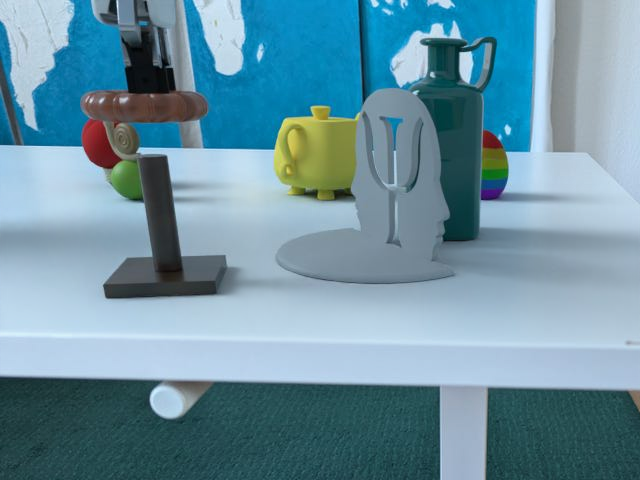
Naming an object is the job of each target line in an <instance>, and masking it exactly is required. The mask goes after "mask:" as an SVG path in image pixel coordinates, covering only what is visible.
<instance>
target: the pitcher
mask: <svg viewBox="0 0 640 480" xmlns="http://www.w3.org/2000/svg"><path fill="white" fill-rule="evenodd" d="M419 44H420V45H421V46H424V47H427V71H426V74H425V76H424V78H423V79H421V80H419V81H415V82H414V83H412V84H410V85H409V86H408V87H407V88H406V91H409V92H411V93H413V94H414V95H416V96H417V97H418V98H419V99H420V100H421V101H422V102H423V103H424V105H425V106H426V108H427V110H428V112H429V114H430V116H431V118H432V121H433V123H434V126H435V129H436V133H437V138H438V143H439V149H440V158H441V174H440V184H441V188H442V192H443V195H444V198H445V201H446V204H447V206H448V209H449V212H450V217H449V219H447V220H445V221H444V222H443V225H444V229H445V233H444V234H443V235H442V237H443V241H469V240H474V239H476V238H477V237H478V236H479V235H480V232H481V200H482V199H481V172H482V139H483V130H484V105H485V104H484V103H485V102H484V96H483V92H484V91H485V90H486V89H487V87H488V85H489V83H490V81H491V79H492V76H493V73H494V66H495V61H496V54H497V47H498V40H497V38H495V36H484V37H479V38H476V39H474V41H473V42H472V43H471V44H470V45H469V41H467V40H466V39H463V38H456V37H423V38H420V40H419ZM483 44H485V47H484V55H483V64H482V69H481V73H480V76H479V79H478V80H477V81H476V83H475V84H471V83H469V82H467V81H466V80H464V78H463V77H462V75H461V54H462V53H470V52H474V51H476V50H477V49H479V48H480V47H481V46H482V45H483ZM423 124H424V123H422V125H421V129H420V133H419V141H418V167H417V173H416V177H415V180H414V181H413V183H412V184H411V185H410V186H407V187H405V194H407V193H408V192H410V191H411V190H412V189H413V188H414V186H415V184H416V182H417V179H418V174H419V167H420V144H421V130H422V126H423Z"/></svg>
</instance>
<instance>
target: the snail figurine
mask: <svg viewBox="0 0 640 480" xmlns="http://www.w3.org/2000/svg"><path fill="white" fill-rule="evenodd" d="M103 124H104V126H105V128H106V133H107V136H108V139H109V142H110V145H111V147H112V149H113V151H114V152H115V154H116V155H118V156H119V157H120V158H122V159H123V160H124V161H121V162H119V163H118V164H116V165H115V167H114V168H113V170H112V172H111V182H112V184H111V186H112V187H113V189H114V190H115V191H116V192H117V194H119V195H120V196H121V197H124V198H126V199H129V200H140V199H144V198H143V192H142V185H141V179H140V172H139V166H138V160H137V156H138V155H143V154H142V152H138V150H139V149H140V145H141V141H140V135H139V132H138V131H137V129H136V128H135V126H133V125H132V123H120V124H118V125H117V126H116V128H115V129H114V122H103Z"/></svg>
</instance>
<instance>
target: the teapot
mask: <svg viewBox="0 0 640 480" xmlns="http://www.w3.org/2000/svg"><path fill="white" fill-rule="evenodd" d="M310 111H311V114H312V116H298V117H297V116H295V117H294V116H293V117H285V118H284V119H283V121H282V123H281V126H280V129H279V131H278V133H277V138H276V142H275V146H274V151H273V152H274V153H273V171H274V174H275V176H276V177H277V179H278V180H279V181H280V183H281V184H283V185H286V186H289V187H290V186H291V187H290V189H289V191H288V192H287V195H290V196H301V195H305V193H306V190H307V189H311V190H317V197H316V199H317V200H321V201H331V200H335V193H334V190H344V192H345V194H346V195H353V194H352V192H351V185H352V182H353V179H354V176H355V172H356V166H357V160H356V151H355V145H356V131H357V124H358V119H359V115H360V112H361V111H359V112H358V113H357V114H356V116H355V118H347V117H335V116H330V113H331V107H330V106H328V105H312V106H310Z"/></svg>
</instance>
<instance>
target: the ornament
mask: <svg viewBox="0 0 640 480" xmlns="http://www.w3.org/2000/svg"><path fill="white" fill-rule="evenodd" d="M359 112H360V115H359V119H358V124H357V131H356V145H355V151H356V160H357V166H356V172H355V176H354V179H353V182H352V185H351V192H352V194H351V195H353V196H354V197H355V202H354V207H355V210H356V216H357V219H358V222H359V225H360V230H358V229H357V228H354V227H347V228H338V229H328V230H322V231H317V232H311V233H308V234H304V235H301V236H298V237H295V238H293V239H290V240H288V241H287V242H284V243H283V244H281V246H279V248H278V249H277V250H276V253H275V259H276V262H277V264H279V265H280V266H281V267H282V268H284V269H286V270H288V271H289V272H292V273H295V274H298V275H302V276H304V277H305V276H306V277H309V278H315V279H320V280H327V281H335V282H343V283H344V282H345V283H359V284H398V283H412V282H413V283H414V282H422V281H430V280H431V281H432V280H436V279H437V280H438V279H443V278H446V277H451V276H454V275H456V273H455V270H454V268H453V267H452V266H449V265H447V264H444V263H442V262H439V261H438V259H439V256H440V255H439V252H440V247H441V245H442V244H443V242H444V240H443V237H442V235H443V234H444V233H445V229H444V225H443V222H444V221H445V220H447V219H449V217H450V212H449V209H448V206H447V204H446V201H445V198H444V195H443V192H442V188H441V184H440V174H441V158H440V149H439V143H438V138H437V133H436V129H435V126H434V123H433V121H432V118H431V116H430V114H429V112H428V110H427V108H426V106H425V105H424V103H423V102H422V101H421V100H420V99H419V98H418V97H417V96H416V95H414V94H413V93H411V92H409V91H407V89H402V88H396V87H388V88H379V89H377V90H374V91H373V92H372V93H371V94H370V95H369V96H368V97H367V98H366V99H365V101H364V102H363V105H362V107H361V109H360V111H359ZM387 118H391V119H402V122H399V123H398V125H397V128H396V133H395V139H394V132H393V126H392V123H391V122H390V120H388V119H387ZM422 123H424V124H423V126H422V130H421V144H420V167H419V174H418V179H417V182H416V184H415V186H414V188H413V189H412V190H411V191H410V192H408V193H407V194H406V192H399V193H396V191H395V190H393V189H390V188H388V186H387V185H395V170H396V187H397V188H406V187H407V186H410V185H411V184H412V183H413V181H414V180H415V177H416V173H417V167H418V141H419V133H420V129H421V125H422ZM394 140H395V141H394ZM395 168H396V169H395ZM396 203H397V204H396ZM396 207H397V209H396ZM396 210H397V213H396ZM396 214H397V235H398V239H399V244H400V246H399V245H396V244H394V243H392V242H393V240H394V238H395V234H396Z"/></svg>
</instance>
